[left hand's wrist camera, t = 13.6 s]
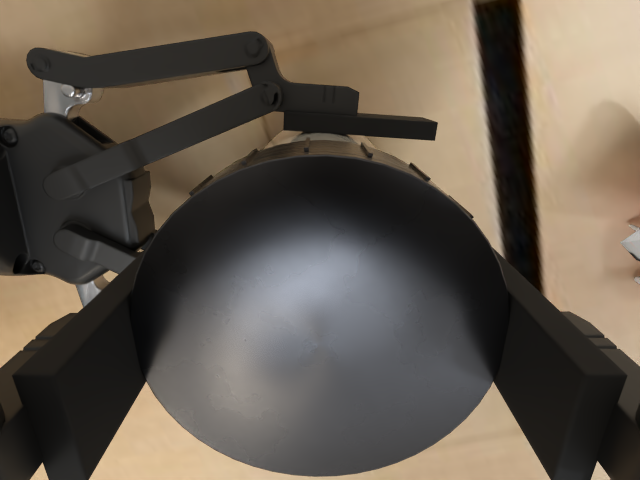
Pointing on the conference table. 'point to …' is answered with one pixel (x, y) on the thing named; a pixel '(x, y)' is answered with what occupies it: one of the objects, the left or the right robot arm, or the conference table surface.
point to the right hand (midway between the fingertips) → (412, 223)
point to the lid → (319, 310)
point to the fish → (633, 246)
